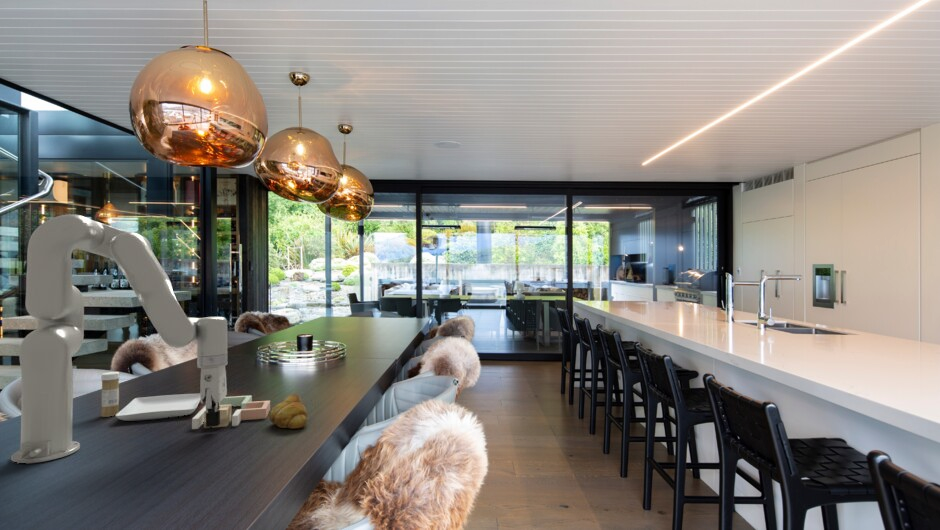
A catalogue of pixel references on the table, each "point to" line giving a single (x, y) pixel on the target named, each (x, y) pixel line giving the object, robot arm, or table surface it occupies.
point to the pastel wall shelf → (239, 410)
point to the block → (222, 416)
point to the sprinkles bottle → (110, 393)
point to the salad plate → (159, 407)
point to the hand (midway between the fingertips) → (213, 425)
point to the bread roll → (289, 413)
